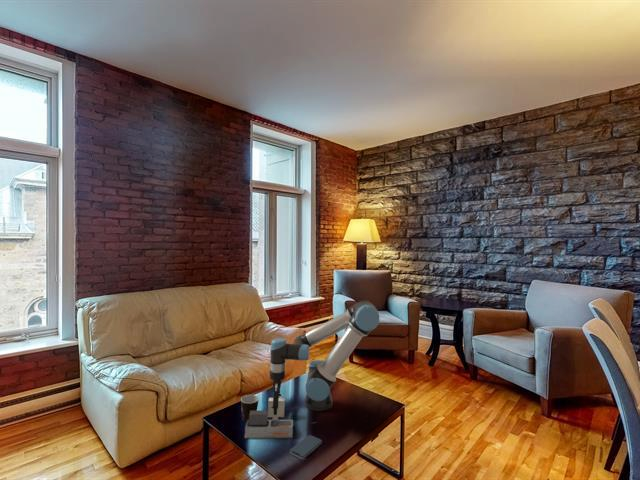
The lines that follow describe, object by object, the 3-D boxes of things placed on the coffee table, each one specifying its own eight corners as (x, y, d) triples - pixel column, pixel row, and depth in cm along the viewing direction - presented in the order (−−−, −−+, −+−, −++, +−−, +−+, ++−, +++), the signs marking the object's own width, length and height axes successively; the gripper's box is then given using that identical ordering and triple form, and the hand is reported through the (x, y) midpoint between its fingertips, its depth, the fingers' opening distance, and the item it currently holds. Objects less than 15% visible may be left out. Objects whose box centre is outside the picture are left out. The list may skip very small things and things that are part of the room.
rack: (292, 426, 154) (293, 407, 154) (292, 438, 145) (293, 417, 145) (247, 426, 152) (248, 407, 152) (244, 438, 143) (245, 418, 143)
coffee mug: (253, 425, 153) (254, 404, 153) (237, 422, 155) (237, 402, 155) (263, 412, 165) (263, 393, 165) (247, 410, 167) (247, 391, 167)
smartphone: (323, 440, 142) (302, 457, 130) (323, 444, 142) (302, 461, 130) (309, 434, 147) (288, 449, 134) (309, 437, 147) (288, 454, 134)
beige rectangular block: (284, 413, 165) (284, 397, 165) (284, 417, 161) (284, 401, 162) (268, 413, 164) (269, 397, 165) (267, 417, 161) (268, 401, 161)
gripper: (271, 362, 174) (270, 403, 174) (267, 379, 152) (266, 427, 152) (285, 362, 174) (284, 403, 174) (283, 379, 152) (282, 427, 152)
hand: (276, 414), depth 163 cm, fingers open, 9 cm apart
